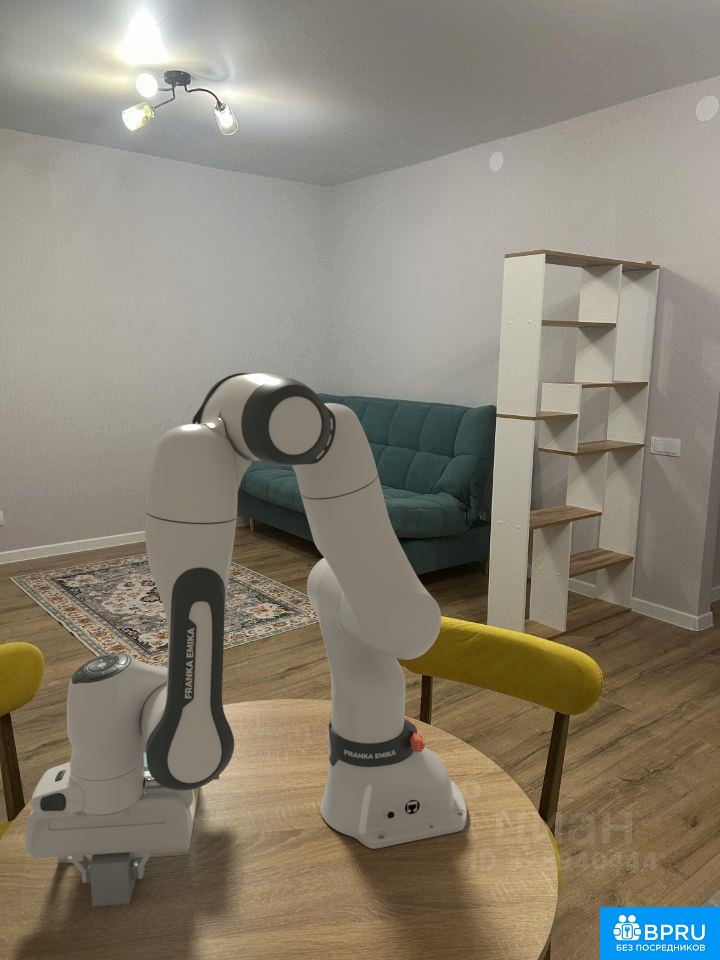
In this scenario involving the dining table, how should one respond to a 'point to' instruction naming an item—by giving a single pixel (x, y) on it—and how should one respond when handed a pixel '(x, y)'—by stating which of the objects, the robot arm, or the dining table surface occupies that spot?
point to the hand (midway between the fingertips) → (113, 877)
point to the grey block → (111, 878)
